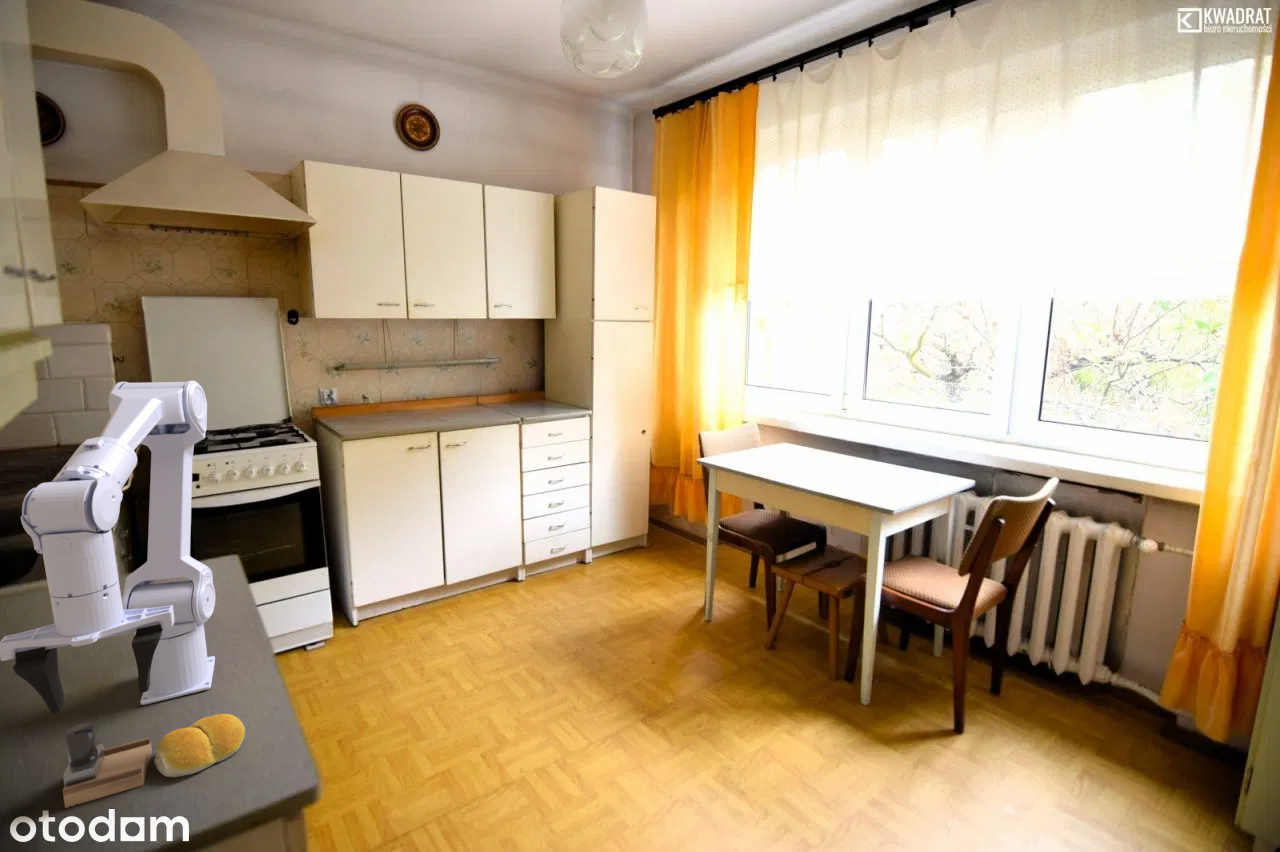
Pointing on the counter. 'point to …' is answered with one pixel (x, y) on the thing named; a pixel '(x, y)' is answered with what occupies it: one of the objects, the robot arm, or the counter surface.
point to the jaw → (82, 754)
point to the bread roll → (199, 745)
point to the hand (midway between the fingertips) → (102, 698)
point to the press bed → (114, 773)
